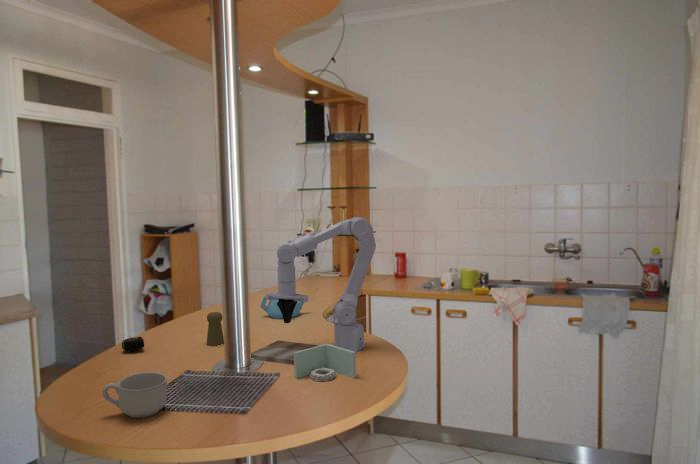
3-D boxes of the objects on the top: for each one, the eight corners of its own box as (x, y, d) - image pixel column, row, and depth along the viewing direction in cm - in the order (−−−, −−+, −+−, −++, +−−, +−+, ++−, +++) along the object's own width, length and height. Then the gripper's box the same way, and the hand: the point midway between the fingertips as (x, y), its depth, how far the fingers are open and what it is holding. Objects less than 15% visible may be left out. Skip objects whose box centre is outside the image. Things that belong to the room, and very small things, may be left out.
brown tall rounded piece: (226, 341, 180) (226, 310, 180) (220, 346, 174) (219, 314, 174) (210, 341, 181) (209, 310, 180) (203, 346, 175) (202, 314, 174)
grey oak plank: (314, 356, 162) (314, 351, 162) (298, 366, 153) (298, 361, 152) (266, 350, 169) (266, 345, 169) (248, 359, 160) (248, 354, 160)
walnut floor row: (325, 350, 168) (325, 345, 168) (315, 356, 162) (315, 351, 162) (278, 344, 175) (278, 340, 175) (267, 350, 169) (267, 345, 169)
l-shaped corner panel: (294, 379, 142) (293, 352, 141) (327, 368, 150) (326, 343, 150) (322, 390, 133) (322, 362, 133) (356, 378, 141) (355, 351, 141)
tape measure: (145, 349, 169) (143, 338, 168) (122, 354, 166) (121, 343, 166) (144, 345, 175) (143, 334, 175) (122, 350, 172) (121, 339, 172)
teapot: (279, 310, 230) (278, 286, 230) (308, 313, 224) (307, 289, 223) (258, 318, 217) (257, 292, 216) (288, 321, 210) (287, 295, 209)
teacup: (174, 403, 126) (173, 371, 125) (159, 422, 115) (157, 387, 114) (116, 404, 125) (115, 372, 125) (96, 424, 114) (94, 388, 114)
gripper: (312, 280, 168) (313, 321, 168) (273, 278, 173) (274, 318, 174) (302, 283, 161) (303, 326, 162) (262, 281, 167) (263, 322, 167)
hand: (287, 322), depth 167 cm, fingers closed
